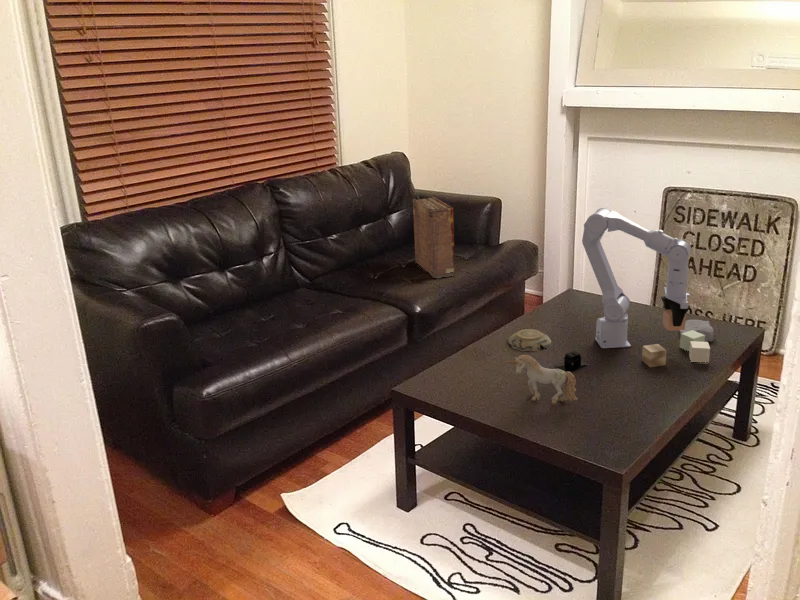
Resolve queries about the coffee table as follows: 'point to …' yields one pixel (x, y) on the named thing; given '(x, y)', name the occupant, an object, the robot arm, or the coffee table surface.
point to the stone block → (699, 328)
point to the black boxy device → (572, 362)
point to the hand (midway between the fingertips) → (673, 322)
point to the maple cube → (654, 355)
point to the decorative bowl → (529, 340)
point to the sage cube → (690, 339)
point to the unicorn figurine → (546, 378)
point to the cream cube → (699, 351)
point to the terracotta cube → (671, 321)
